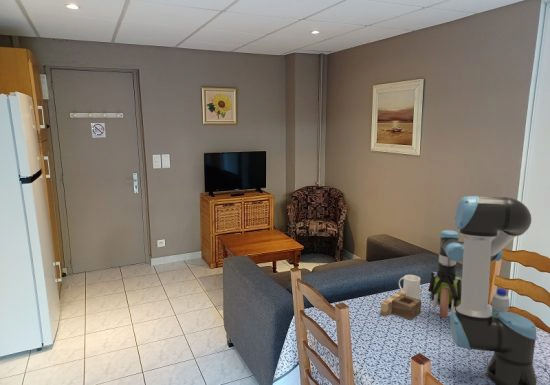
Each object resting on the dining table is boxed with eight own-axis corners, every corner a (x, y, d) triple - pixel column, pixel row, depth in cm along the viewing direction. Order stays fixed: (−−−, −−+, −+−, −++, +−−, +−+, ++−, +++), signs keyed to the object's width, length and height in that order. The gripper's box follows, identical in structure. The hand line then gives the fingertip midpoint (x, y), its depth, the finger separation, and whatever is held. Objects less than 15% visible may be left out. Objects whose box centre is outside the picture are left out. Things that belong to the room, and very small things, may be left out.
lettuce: (448, 297, 214) (440, 270, 215) (482, 300, 195) (473, 270, 196) (427, 307, 207) (419, 279, 208) (460, 311, 188) (451, 280, 189)
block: (411, 320, 182) (412, 307, 181) (391, 313, 189) (392, 300, 188) (420, 313, 189) (421, 300, 188) (401, 306, 196) (401, 294, 195)
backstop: (386, 316, 186) (386, 304, 185) (380, 314, 188) (381, 302, 187) (405, 303, 200) (406, 292, 199) (400, 301, 202) (400, 290, 201)
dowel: (445, 318, 184) (447, 290, 182) (438, 315, 187) (440, 287, 185) (448, 315, 187) (450, 287, 185) (441, 313, 189) (443, 285, 187)
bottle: (508, 337, 168) (513, 292, 165) (491, 335, 169) (496, 291, 166) (503, 329, 174) (507, 286, 171) (486, 327, 176) (490, 285, 172)
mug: (393, 296, 209) (394, 274, 207) (404, 292, 213) (405, 271, 212) (412, 304, 199) (413, 281, 197) (422, 300, 204) (424, 278, 202)
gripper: (473, 266, 178) (469, 314, 182) (429, 256, 192) (426, 300, 196) (467, 271, 173) (463, 319, 177) (422, 260, 187) (419, 305, 191)
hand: (443, 309), depth 186 cm, fingers open, 8 cm apart
